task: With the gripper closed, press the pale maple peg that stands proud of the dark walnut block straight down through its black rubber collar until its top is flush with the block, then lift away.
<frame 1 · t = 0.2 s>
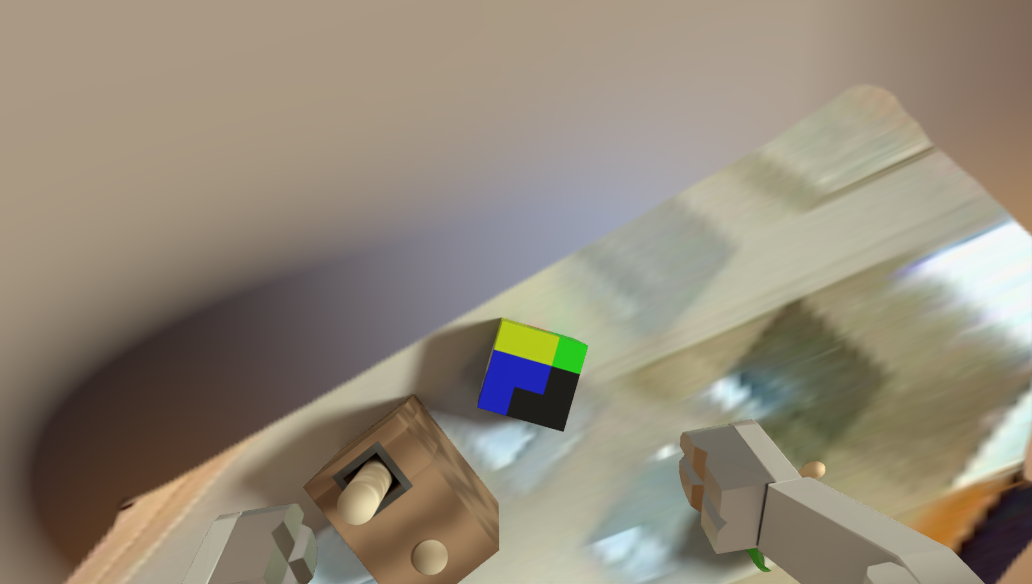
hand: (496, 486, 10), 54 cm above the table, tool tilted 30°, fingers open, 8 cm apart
walnut block: (419, 477, 63), on the table
puzzle toy: (527, 364, 64), on the table
peg: (372, 482, 51), point 12 cm above the table, slide at 0.0 cm
kitten: (782, 513, 65), on the table
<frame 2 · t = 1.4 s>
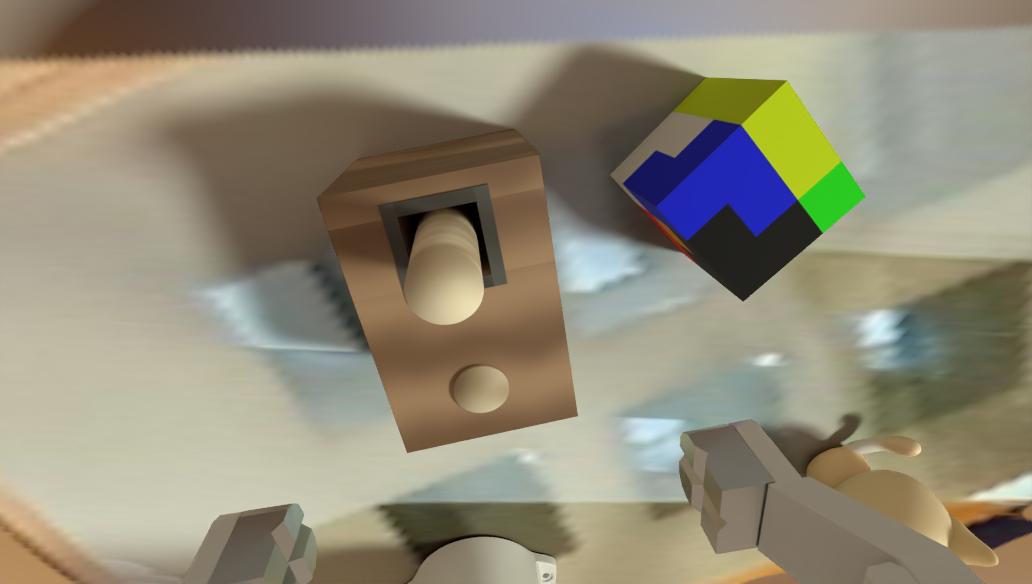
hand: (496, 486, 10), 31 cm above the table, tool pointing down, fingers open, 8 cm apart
walnut block: (462, 254, 40), on the table
puzzle toy: (692, 170, 40), on the table
peg: (446, 247, 27), point 12 cm above the table, slide at 0.0 cm
kitten: (821, 462, 56), on the table
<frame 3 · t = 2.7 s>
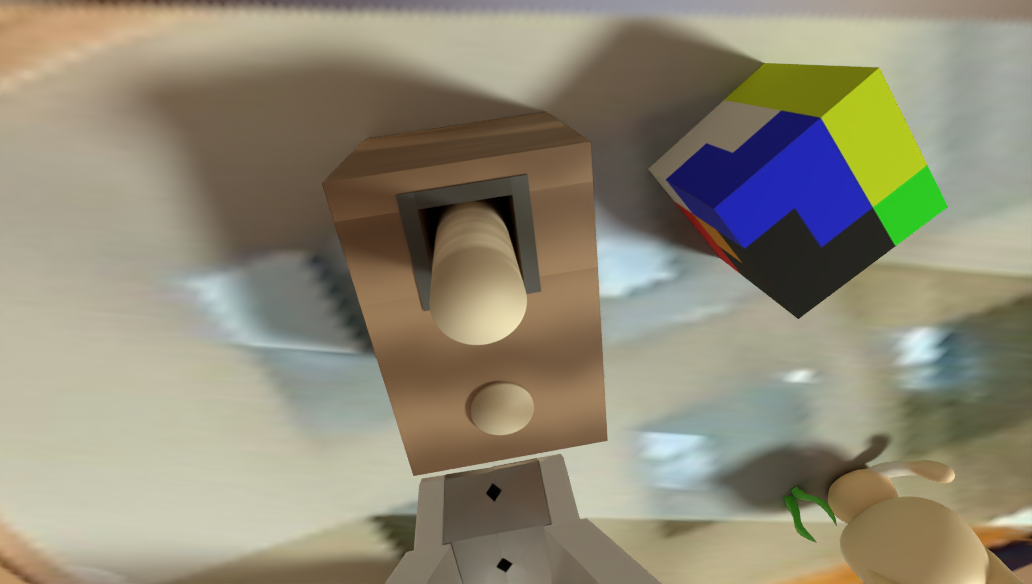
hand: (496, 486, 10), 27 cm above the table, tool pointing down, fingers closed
walnut block: (478, 250, 36), on the table
puzzle toy: (738, 168, 36), on the table
peg: (473, 247, 23), point 12 cm above the table, slide at 0.0 cm
kitten: (843, 483, 53), on the table
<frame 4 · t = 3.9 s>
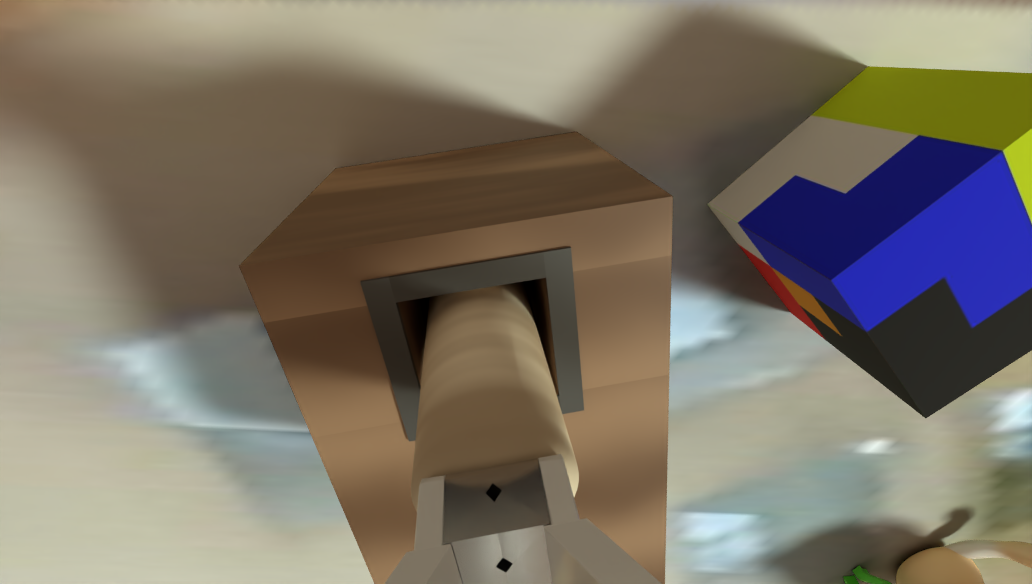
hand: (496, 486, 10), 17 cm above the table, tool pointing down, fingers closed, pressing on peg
walnut block: (485, 307, 28), on the table
puzzle toy: (821, 202, 28), on the table
peg: (482, 343, 16), point 12 cm above the table, slide at 0.7 cm, touching gripper
kitten: (912, 560, 45), on the table
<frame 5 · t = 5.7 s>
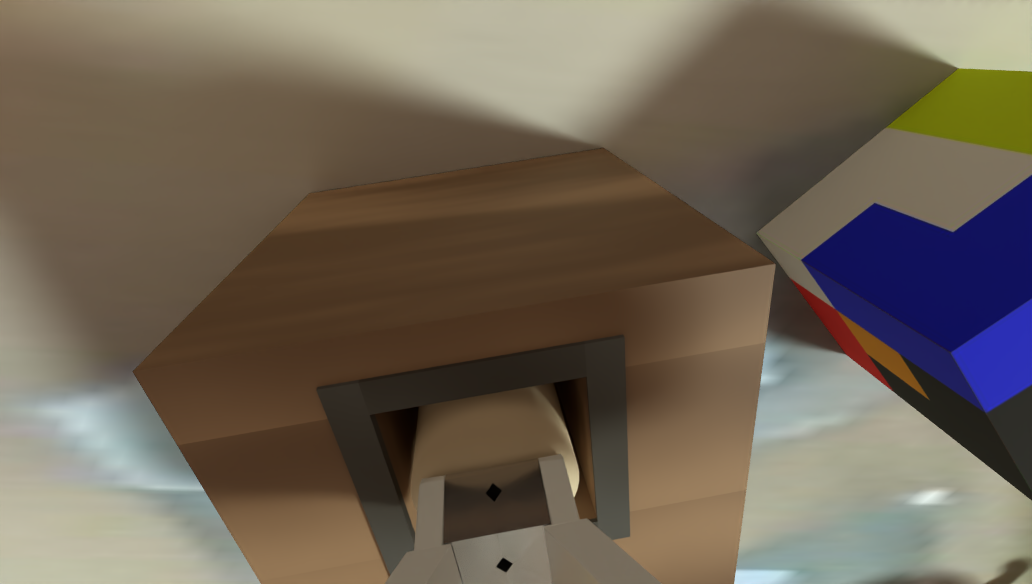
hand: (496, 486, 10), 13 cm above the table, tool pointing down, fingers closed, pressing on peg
walnut block: (491, 353, 24), on the table
puzzle toy: (890, 228, 24), on the table
peg: (482, 342, 16), point 7 cm above the table, slide at 5.5 cm, touching gripper
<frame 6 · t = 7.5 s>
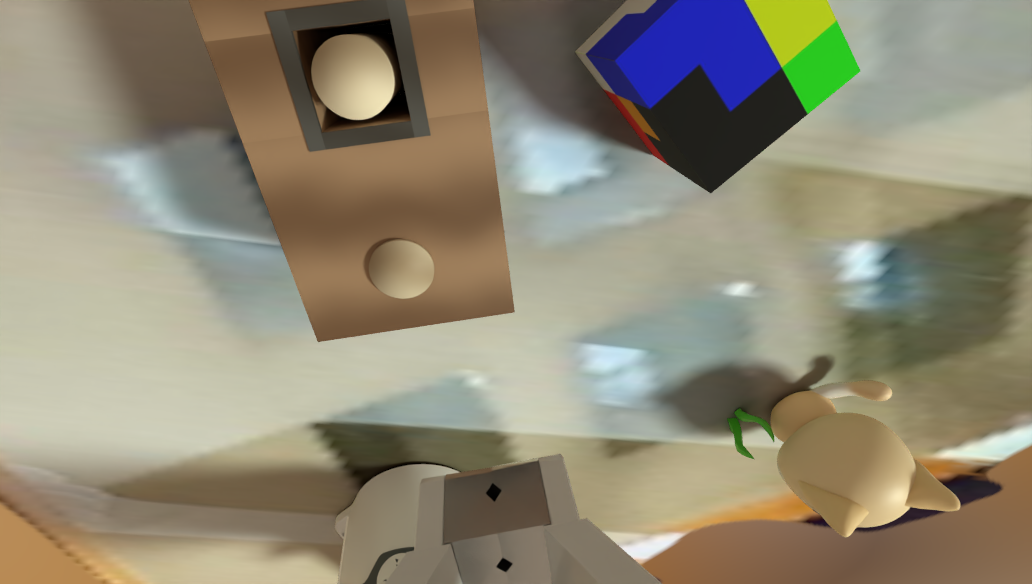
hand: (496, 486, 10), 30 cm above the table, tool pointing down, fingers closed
walnut block: (403, 136, 36), on the table
puzzle toy: (669, 55, 35), on the table
peg: (371, 69, 27), point 7 cm above the table, slide at 5.6 cm
kitten: (787, 407, 54), on the table
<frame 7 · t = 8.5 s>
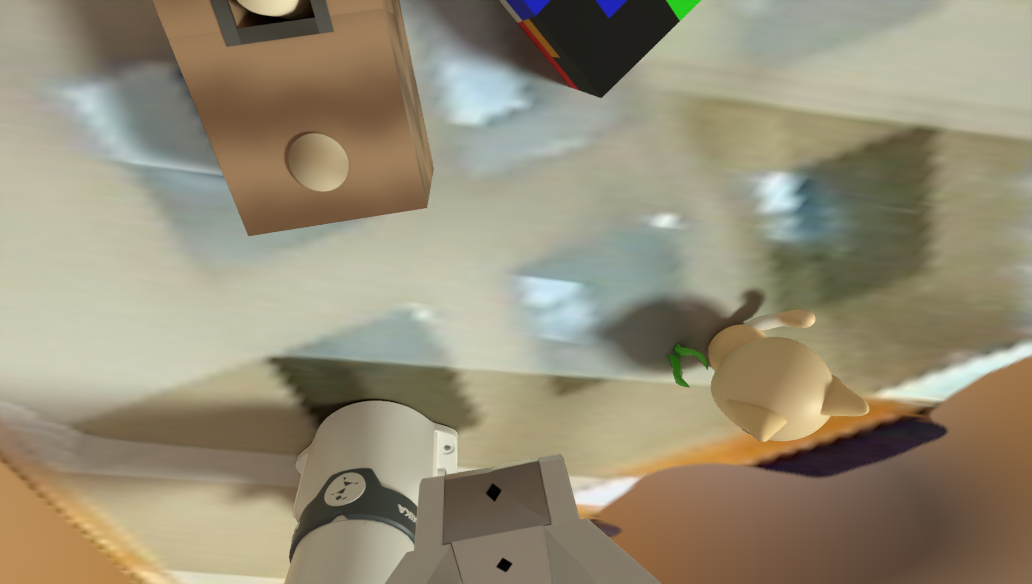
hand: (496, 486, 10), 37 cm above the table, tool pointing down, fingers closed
walnut block: (336, 68, 39), on the table
kitten: (725, 343, 57), on the table
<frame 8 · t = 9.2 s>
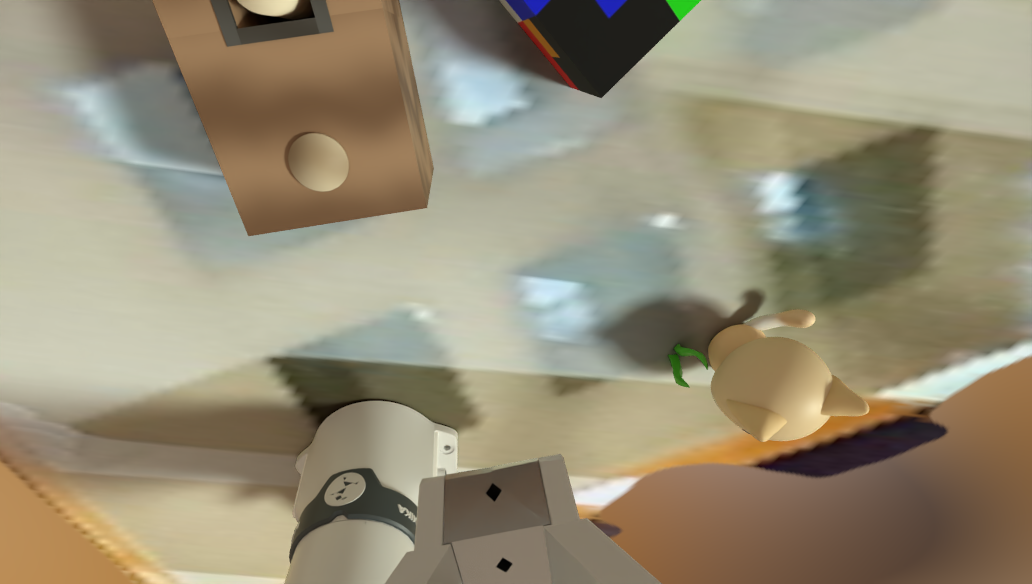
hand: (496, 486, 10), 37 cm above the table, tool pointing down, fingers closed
walnut block: (336, 68, 39), on the table
kitten: (725, 343, 57), on the table
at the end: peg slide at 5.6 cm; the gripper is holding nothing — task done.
